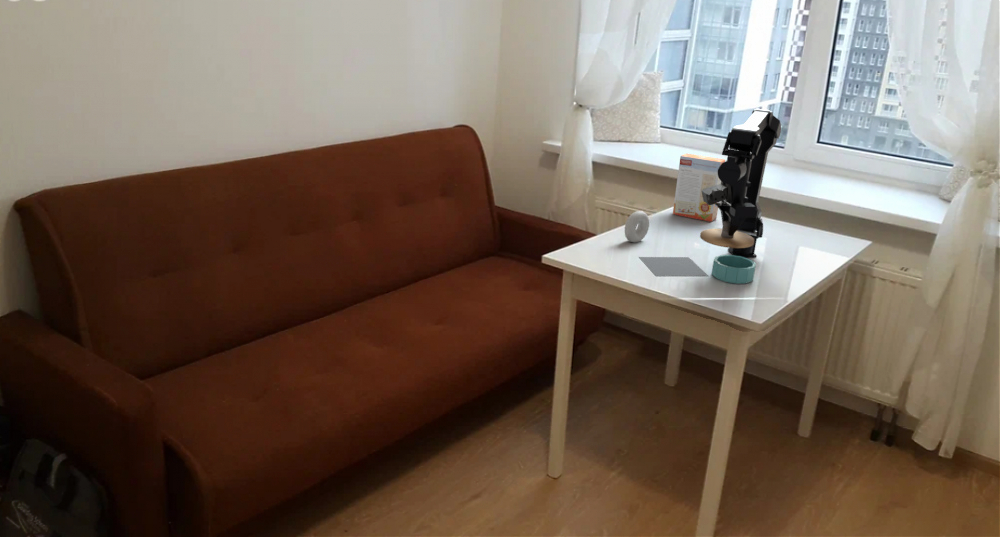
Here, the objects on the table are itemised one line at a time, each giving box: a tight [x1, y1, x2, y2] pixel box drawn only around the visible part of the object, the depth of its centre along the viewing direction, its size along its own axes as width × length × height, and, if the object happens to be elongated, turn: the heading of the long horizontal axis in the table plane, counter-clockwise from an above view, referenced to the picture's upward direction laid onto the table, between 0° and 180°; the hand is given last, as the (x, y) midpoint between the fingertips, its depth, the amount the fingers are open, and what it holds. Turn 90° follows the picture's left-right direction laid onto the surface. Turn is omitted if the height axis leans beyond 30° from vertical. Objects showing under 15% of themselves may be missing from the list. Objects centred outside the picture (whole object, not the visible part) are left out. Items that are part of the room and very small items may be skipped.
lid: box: [699, 221, 754, 249], centre depth 203 cm, size 14×14×5 cm
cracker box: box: [672, 153, 726, 223], centre depth 258 cm, size 14×6×21 cm, turn 58°
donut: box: [624, 210, 650, 243], centre depth 230 cm, size 10×4×10 cm, turn 133°
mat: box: [638, 256, 709, 277], centre depth 212 cm, size 15×15×1 cm
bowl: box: [711, 254, 757, 285], centre depth 206 cm, size 11×11×5 cm
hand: (727, 233), depth 203 cm, fingers closed on lid, 3 cm apart
